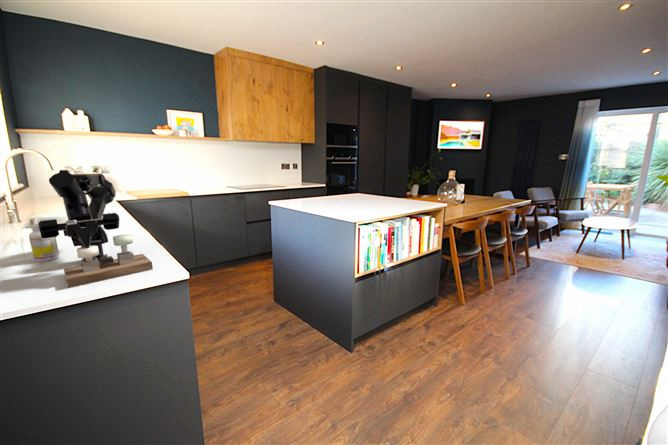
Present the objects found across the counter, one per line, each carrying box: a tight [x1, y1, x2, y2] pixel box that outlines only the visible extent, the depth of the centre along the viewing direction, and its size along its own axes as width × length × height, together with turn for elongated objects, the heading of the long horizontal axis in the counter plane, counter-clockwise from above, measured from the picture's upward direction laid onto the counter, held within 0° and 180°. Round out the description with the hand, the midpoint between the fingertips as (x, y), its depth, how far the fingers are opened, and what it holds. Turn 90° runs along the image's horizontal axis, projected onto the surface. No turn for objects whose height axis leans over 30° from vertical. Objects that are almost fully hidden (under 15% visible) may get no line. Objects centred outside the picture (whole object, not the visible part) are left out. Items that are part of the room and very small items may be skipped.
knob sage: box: [112, 234, 134, 254], centre depth 96 cm, size 5×5×6 cm
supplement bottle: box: [28, 223, 60, 262], centre depth 107 cm, size 7×7×13 cm
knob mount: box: [63, 250, 154, 289], centre depth 95 cm, size 12×21×6 cm, turn 134°
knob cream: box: [76, 246, 99, 262], centre depth 91 cm, size 5×5×6 cm
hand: (87, 247), depth 89 cm, fingers closed, pressing on knob cream
